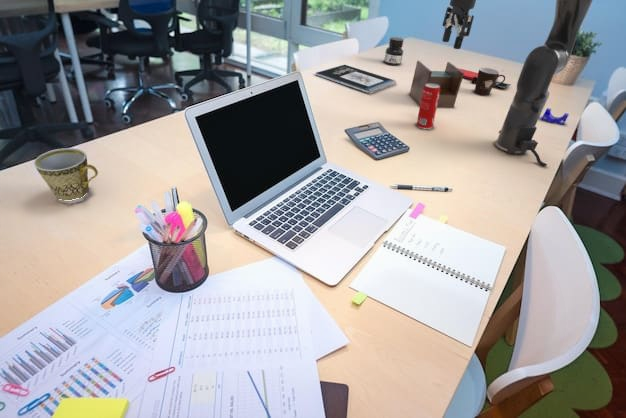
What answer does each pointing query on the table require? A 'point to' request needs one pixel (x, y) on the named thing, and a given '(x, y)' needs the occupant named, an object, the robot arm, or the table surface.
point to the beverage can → (428, 105)
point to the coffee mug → (486, 81)
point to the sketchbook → (356, 78)
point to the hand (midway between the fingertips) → (450, 45)
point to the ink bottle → (394, 51)
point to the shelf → (445, 79)
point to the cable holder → (551, 118)
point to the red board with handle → (474, 76)
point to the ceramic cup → (66, 173)
